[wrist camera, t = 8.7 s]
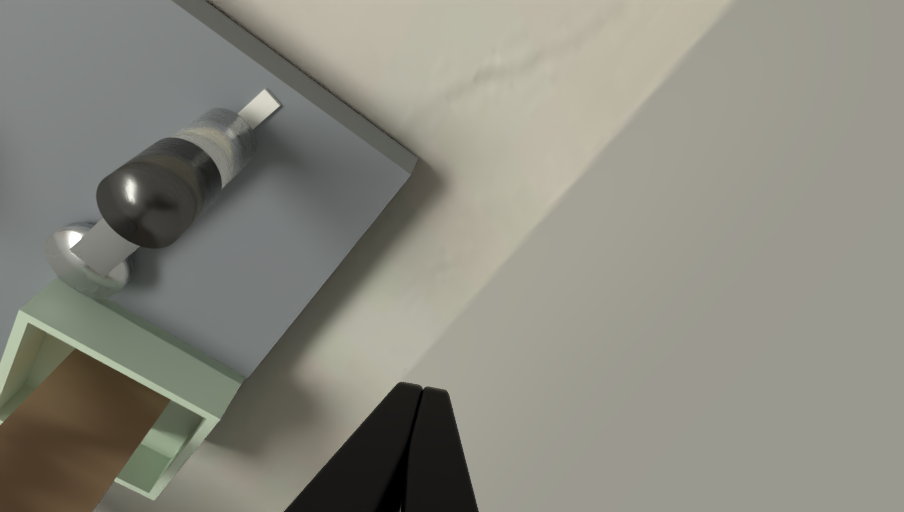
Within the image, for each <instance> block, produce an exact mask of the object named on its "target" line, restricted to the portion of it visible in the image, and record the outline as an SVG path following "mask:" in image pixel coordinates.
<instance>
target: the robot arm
mask: <svg viewBox="0 0 904 512" xmlns="http://www.w3.org/2000/svg"><path fill="white" fill-rule="evenodd" d="M400 510H401V512H479V511H478V507H477V504H476V499H475V495H474V491H473V488H472V484H471V480H470V476H469V472H468V468H467V464H466V460H465V456H464V452H463V448H462V444H461V440H460V436H459V432H458V428H457V424H456V420H455V417H454V413H453V408H452V404H451V401H450V397H449V394H448V392H447V391H446V390H444V389H439V388H433V387H425V388H424V389H422V387H421V386H420V385H417V384H412V383H406V382H399V383H398V384H397V385H396V386H395V387H394V388H393V389H392V390H391V391H390V392H389V393H388V395H387V396H386V397H385V398H384V399H383V400H382V401H381V403H380V404H379V405H378V406H377V407H376V408H375V409H374V410H373V412H372V413H371V414H370V415H369V416H368V417H367V418H366V419H365V421H364V422H363V423H362V424H361V425H360V426H359V427H358V428H357V430H356V431H355V432H354V433H353V434H352V435H351V436H350V438H349V439H348V440H347V441H346V442H345V443H344V444H343V445H342V447H341V448H340V449H339V450H338V451H337V452H336V453H335V454H334V456H333V457H332V458H331V459H330V460H329V461H328V462H327V464H326V465H325V466H324V467H323V468H322V469H321V470H320V471H319V473H318V474H317V475H316V476H315V477H314V478H313V479H312V480H311V482H310V483H309V484H308V485H307V486H306V487H305V488H304V489H303V491H302V492H301V493H300V494H299V495H298V496H297V497H296V499H295V500H294V501H293V502H292V503H291V504H290V505H289V506H288V508H287V509H286V510H285V511H284V512H400Z"/></svg>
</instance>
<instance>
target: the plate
mask: <svg viewBox="0 0 904 512" xmlns="http://www.w3.org/2000/svg"><path fill="white" fill-rule="evenodd" d="M214 108H224V109H228V110H231V111H233V112H235V113H237V114H238V115H240V116H241V117H243V118H244V119H245V120H246V121H247V122H248V124H249V125H250V126H251V128H252V130H253V131H254V134H255V137H256V141H257V150H256V154H255V156H254V157H253V159H252V160H251V161H250V162H249V163H248V164H247V165H246V166H245V167H244V168H243V169H242V170H241V171H240V172H239V173H238V174H237V175H236V176H235V177H234V178H233V179H232V180H231V181H230V182H229V183H228V184H226V185H225V186H224V187H223V188H222V189H221V193H220V195H219V197H218V199H217V200H216V201H215V202H214V203H213V204H212V205H211V206H210V207H209V208H208V209H207V210H206V211H205V212H204V213H203V214H202V215H201V216H200V217H199V218H198V219H197V220H196V221H195V222H194V223H193V224H192V225H191V226H190V227H189V228H188V229H187V230H186V231H185V232H184V233H183V234H182V235H181V236H180V237H179V238H178V239H177V240H176V241H175V242H174V243H173V244H171V245H170V246H167V247H165V248H159V249H151V248H145V247H141V246H140V247H139V248H137V249H136V250H135V251H134V252H133V253H132V254H130V256H131V258H132V261H133V266H134V272H133V276H132V278H131V280H130V281H129V282H128V283H127V284H126V285H125V286H124V287H123V288H122V289H121V290H120V291H119V292H118V293H116V294H115V295H112V296H109V297H106V298H108V299H110V300H112V301H113V302H115V303H117V304H119V305H120V306H122V307H124V308H126V309H127V310H129V311H131V312H133V313H134V314H136V315H138V316H140V317H141V318H143V319H145V320H147V321H148V322H150V323H152V324H154V325H155V326H157V327H159V328H161V329H162V330H164V331H166V332H168V333H169V334H171V335H173V336H175V337H176V338H178V339H180V340H182V341H183V342H185V343H187V344H189V345H190V346H192V347H194V348H196V349H197V350H199V351H201V352H203V353H204V354H206V355H208V356H210V357H211V358H213V359H215V360H217V361H218V362H220V363H222V364H224V365H225V366H227V367H229V368H231V369H232V370H234V371H236V372H238V373H239V374H241V375H243V376H245V379H244V381H243V382H242V384H241V386H242V385H243V384H244V382H245V381H246V380H247V379H248V377H249V376H250V375H251V374H252V372H253V371H254V370H255V369H256V367H257V366H258V365H259V364H260V362H261V361H262V360H263V359H264V357H265V356H266V355H267V354H268V352H269V351H270V350H271V349H272V347H273V346H274V345H275V344H276V342H277V341H278V340H279V339H280V337H281V336H282V335H283V334H284V332H285V331H286V330H287V329H288V328H289V326H290V325H291V324H292V323H293V321H294V320H295V319H296V318H297V316H298V315H299V314H300V313H301V311H302V310H303V309H304V308H305V306H306V305H307V304H308V303H309V301H310V300H311V299H312V298H313V296H314V295H315V294H316V293H317V291H318V290H319V289H320V288H321V286H322V285H323V284H324V283H325V281H326V280H327V279H328V278H329V276H330V275H331V274H332V273H333V271H334V270H335V269H336V268H337V266H338V265H339V264H340V263H341V262H342V260H343V259H344V258H345V257H346V255H347V254H348V253H349V252H350V250H351V249H352V248H353V247H354V245H355V244H356V243H357V242H358V240H359V239H360V238H361V237H362V235H363V234H364V233H365V232H366V230H367V229H368V228H369V227H370V225H371V224H372V223H373V222H374V220H375V219H376V218H377V217H378V215H379V214H380V213H381V212H382V210H383V209H384V208H385V207H386V205H387V204H388V203H389V202H390V200H391V199H392V198H393V197H394V196H395V194H396V193H397V192H398V191H399V189H400V188H401V187H402V186H403V184H404V183H405V182H406V181H407V179H408V178H409V177H410V176H411V174H412V172H413V169H414V167H415V165H416V163H417V160H418V158H417V157H416V156H415V155H413V154H412V153H411V152H409V151H408V150H407V149H405V148H404V147H402V146H401V145H400V144H398V143H397V142H396V141H394V140H393V139H392V138H390V137H389V136H388V135H386V134H385V133H384V132H382V131H381V130H379V129H378V128H377V127H375V126H374V125H373V124H371V123H370V122H369V121H367V120H366V119H365V118H363V117H362V116H361V115H359V114H358V113H356V112H355V111H354V110H352V109H351V108H350V107H348V106H347V105H346V104H344V103H343V102H342V101H340V100H339V99H338V98H336V97H335V96H334V95H332V94H331V93H329V92H328V91H327V90H325V89H324V88H323V87H321V86H320V85H319V84H317V83H316V82H315V81H313V80H312V79H311V78H309V77H308V76H306V75H305V74H304V73H302V72H301V71H300V70H298V69H297V68H296V67H294V66H293V65H292V64H290V63H289V62H288V61H286V60H285V59H283V58H282V57H281V56H279V55H278V54H277V53H275V52H274V51H273V50H271V49H270V48H269V47H267V46H266V45H265V44H263V43H262V42H260V41H259V40H258V39H256V38H255V37H254V36H252V35H251V34H250V33H248V32H247V31H246V30H244V29H243V28H242V27H240V26H239V25H238V24H236V23H235V22H233V21H232V20H231V19H229V18H228V17H227V16H225V15H224V14H223V13H221V12H220V11H219V10H217V9H216V8H215V7H213V6H212V5H210V4H209V3H208V2H206V1H205V0H0V362H1V359H2V357H3V354H4V351H5V348H6V345H7V342H8V339H9V337H10V334H11V331H12V328H13V325H14V322H15V320H16V317H17V314H18V311H19V309H20V308H22V307H23V306H24V305H25V304H26V303H28V302H29V301H30V300H31V299H32V298H33V297H35V296H36V295H37V294H38V293H39V292H41V291H42V290H43V289H44V288H45V287H47V286H48V285H49V284H50V283H51V282H53V281H54V280H55V279H56V278H57V277H58V276H57V275H56V274H55V273H54V271H53V270H52V268H51V267H50V265H49V264H48V261H47V259H46V256H45V244H46V241H47V240H48V238H49V237H50V236H51V235H53V234H54V233H55V232H57V231H58V230H60V229H61V228H62V227H64V226H65V225H67V224H70V223H75V222H82V223H88V224H92V225H96V224H97V223H98V222H99V221H100V220H101V219H102V218H103V217H102V215H101V213H100V211H99V208H98V205H97V201H96V191H97V188H98V185H99V183H100V182H101V181H102V180H103V179H104V178H105V177H106V176H108V175H109V174H111V173H112V172H114V171H115V170H116V169H118V168H119V167H121V166H122V165H124V164H125V163H126V162H128V161H129V160H131V159H132V158H134V157H135V156H136V155H138V154H139V153H141V152H142V151H144V150H145V149H146V148H148V147H149V146H151V145H152V144H154V143H155V142H156V141H158V140H160V139H163V138H169V137H171V136H172V135H174V134H175V133H177V132H178V131H179V130H181V129H182V128H184V127H185V126H186V125H188V124H189V123H191V122H192V121H193V120H195V119H196V118H198V117H199V116H200V115H202V114H203V113H205V112H206V111H208V110H210V109H214ZM241 386H240V387H241ZM240 387H239V389H240ZM239 389H238V390H239Z"/></svg>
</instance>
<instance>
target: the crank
mask: <svg viewBox="0 0 904 512" xmlns="http://www.w3.org/2000/svg"><path fill="white" fill-rule="evenodd" d="M256 150H257V141H256V137H255V134H254V131H253V130H252V128H251V126H250V125H249V124H248V122H247V121H246V120H245V119H244V118H243V117H241V116H240V115H238V114H237V113H235V112H233V111H231V110H228V109H224V108H214V109H210V110H208V111H206V112H205V113H203V114H202V115H200V116H199V117H198V118H196V119H195V120H193V121H192V122H191V123H189V124H188V125H186V126H185V127H184V128H182V129H181V130H179V131H178V132H177V133H175V134H174V135H172V136H171V137H169V138H163V139H160V140H158V141H156V142H155V143H154V144H152V145H151V146H149V147H148V148H146V149H145V150H144V151H142V152H141V153H139V154H138V155H136V156H135V157H134V158H132V159H131V160H129V161H128V162H126V163H125V164H124V165H122V166H121V167H119V168H118V169H116V170H115V171H114V172H112V173H111V174H109V175H108V176H106V177H105V178H104V179H103V180H102V181H101V182H100V183H99V185H98V188H97V191H96V201H97V205H98V208H99V211H100V213H101V215H102V217H103V218H102V219H101V220H100V221H99V222H98V223H97V224H96V225H92V224H88V223H82V222H75V223H70V224H67V225H65V226H64V227H62V228H61V229H60V230H58V231H57V232H55V233H54V234H53V235H51V236H50V237H49V238H48V240H47V241H46V244H45V256H46V259H47V261H48V264H49V265H50V267H51V268H52V270H53V271H54V273H55V274H56V275H57V276H58V277H59V278H60V279H61V280H62V281H63V282H65V283H66V284H67V285H69V286H70V287H72V288H73V289H75V290H77V291H79V292H81V293H84V294H86V295H90V296H94V297H109V296H112V295H115V294H116V293H118V292H119V291H120V290H121V289H122V288H123V287H124V286H125V285H126V284H127V283H128V282H129V281H130V280H131V278H132V276H133V272H134V266H133V261H132V258H131V256H130V254H132V253H133V252H134V251H135V250H136V249H137V248H139V247H140V246H141V247H145V248H151V249H159V248H165V247H167V246H170V245H171V244H173V243H174V242H175V241H176V240H177V239H178V238H179V237H180V236H181V235H182V234H183V233H184V232H185V231H186V230H187V229H188V228H189V227H190V226H191V225H192V224H193V223H194V222H195V221H196V220H197V219H198V218H199V217H200V216H201V215H202V214H203V213H204V212H205V211H206V210H207V209H208V208H209V207H210V206H211V205H212V204H213V203H214V202H215V201H216V200H217V199H218V197H219V195H220V193H221V189H222V188H223V187H224V186H225V185H226V184H228V183H229V182H230V181H231V180H232V179H233V178H234V177H235V176H236V175H237V174H238V173H239V172H240V171H241V170H242V169H243V168H244V167H245V166H246V165H247V164H248V163H249V162H250V161H251V160H252V159H253V157H254V156H255V154H256Z"/></svg>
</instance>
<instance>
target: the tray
mask: <svg viewBox="0 0 904 512" xmlns="http://www.w3.org/2000/svg"><path fill="white" fill-rule="evenodd" d="M75 348H76V349H78V350H80V351H82V352H84V353H86V354H88V355H89V356H91V357H93V358H95V359H97V360H99V361H100V362H102V363H104V364H106V365H108V366H110V367H112V368H113V369H115V370H117V371H119V372H121V373H123V374H124V375H126V376H128V377H130V378H132V379H134V380H136V381H137V382H139V383H141V384H143V385H145V386H147V387H148V388H150V389H152V390H154V391H156V392H158V393H160V394H161V395H163V396H165V397H167V398H169V399H171V400H170V402H169V403H168V405H167V406H166V408H165V409H164V411H163V412H162V413H161V415H160V416H159V418H158V419H157V421H156V422H155V423H154V425H153V426H152V428H151V429H150V431H149V432H148V433H147V435H146V436H145V438H144V439H143V440H142V442H141V443H140V445H139V446H138V448H137V449H136V450H135V452H134V453H133V455H132V456H131V457H130V459H129V460H128V462H127V463H126V464H125V466H124V467H123V469H122V470H121V472H120V473H119V474H118V476H117V477H116V479H115V480H114V481H115V482H117V483H119V484H121V485H123V486H125V487H127V488H129V489H131V490H133V491H135V492H137V493H139V494H141V495H143V496H145V497H147V498H149V499H151V500H153V501H154V500H155V499H156V498H157V497H158V495H159V494H160V493H161V492H162V491H163V489H164V488H165V487H166V486H167V484H168V483H169V482H170V481H171V480H172V478H173V477H174V476H175V475H176V473H177V472H178V471H179V470H180V468H181V467H182V466H183V465H184V464H185V462H186V461H187V460H188V459H189V457H190V456H191V455H192V454H193V452H194V451H195V450H196V449H197V448H198V446H199V445H200V444H201V443H202V441H203V440H204V439H205V438H206V437H207V435H208V434H209V433H210V432H211V430H212V429H213V428H214V427H215V425H216V424H217V423H218V422H219V421H220V419H221V418H222V416H223V414H224V413H225V411H226V409H227V408H228V406H229V404H230V402H231V401H232V399H233V397H234V396H235V394H236V392H237V391H238V389H239V387H240V386H241V384H242V382H243V381H244V379H245V376H243V375H241V374H239V373H238V372H236V371H234V370H232V369H231V368H229V367H227V366H225V365H224V364H222V363H220V362H218V361H217V360H215V359H213V358H211V357H210V356H208V355H206V354H204V353H203V352H201V351H199V350H197V349H196V348H194V347H192V346H190V345H189V344H187V343H185V342H183V341H182V340H180V339H178V338H176V337H175V336H173V335H171V334H169V333H168V332H166V331H164V330H162V329H161V328H159V327H157V326H155V325H154V324H152V323H150V322H148V321H147V320H145V319H143V318H141V317H140V316H138V315H136V314H134V313H133V312H131V311H129V310H127V309H126V308H124V307H122V306H120V305H119V304H117V303H115V302H113V301H112V300H110V299H108V298H106V297H94V296H90V295H86V294H84V293H81V292H79V291H77V290H75V289H73V288H72V287H70V286H69V285H67V284H66V283H65V282H63V281H62V280H61V279H60V278H59V277H57V278H56V279H55V280H54V281H53V282H51V283H50V284H49V285H48V286H47V287H45V288H44V289H43V290H42V291H41V292H39V293H38V294H37V295H36V296H35V297H33V298H32V299H31V300H30V301H29V302H28V303H26V304H25V305H24V306H23V307H22V308H20V309H19V311H18V314H17V317H16V320H15V322H14V325H13V328H12V331H11V334H10V337H9V339H8V342H7V345H6V348H5V351H4V354H3V357H2V359H1V362H0V425H1V424H2V423H3V422H4V421H5V420H6V419H7V418H8V416H9V415H10V414H11V413H12V412H13V411H14V410H15V409H16V408H17V407H18V406H19V405H20V404H21V403H22V402H23V401H24V400H25V399H26V398H27V397H28V396H29V395H30V394H31V393H32V392H33V391H34V390H35V389H36V388H37V387H38V386H39V385H40V384H41V383H42V382H43V381H44V380H45V379H46V378H47V377H48V376H49V375H50V374H51V373H52V372H53V371H54V370H55V369H56V368H57V367H58V366H59V365H60V364H61V363H62V362H63V361H64V360H65V358H66V357H67V356H68V355H69V354H70V353H71V352H72V351H73V350H74V349H75Z"/></svg>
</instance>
